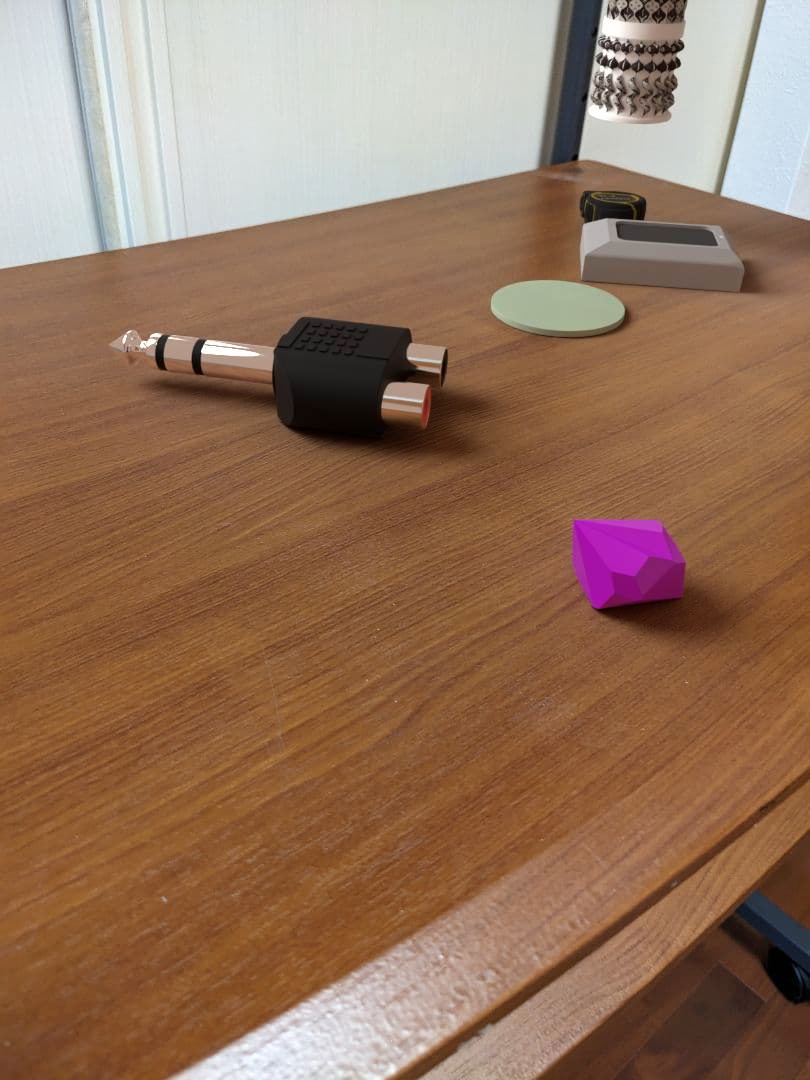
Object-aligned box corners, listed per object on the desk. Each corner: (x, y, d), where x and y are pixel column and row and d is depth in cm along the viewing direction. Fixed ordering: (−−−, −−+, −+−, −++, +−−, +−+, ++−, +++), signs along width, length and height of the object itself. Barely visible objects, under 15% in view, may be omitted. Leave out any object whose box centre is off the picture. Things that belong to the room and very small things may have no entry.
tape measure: (637, 221, 105) (642, 188, 103) (646, 240, 100) (652, 205, 98) (577, 219, 106) (581, 185, 103) (583, 238, 100) (588, 203, 98)
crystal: (621, 636, 48) (636, 566, 45) (551, 581, 51) (562, 513, 49) (689, 602, 50) (707, 533, 48) (618, 552, 54) (631, 485, 51)
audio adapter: (421, 385, 59) (64, 340, 63) (418, 457, 62) (78, 410, 66) (452, 320, 67) (136, 284, 72) (448, 386, 71) (146, 348, 75)
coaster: (652, 317, 83) (653, 310, 82) (557, 349, 77) (557, 342, 76) (556, 277, 90) (557, 271, 90) (463, 303, 84) (464, 297, 84)
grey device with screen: (584, 213, 95) (733, 222, 94) (579, 248, 97) (725, 258, 96) (586, 242, 87) (748, 254, 86) (581, 280, 90) (739, 292, 88)
